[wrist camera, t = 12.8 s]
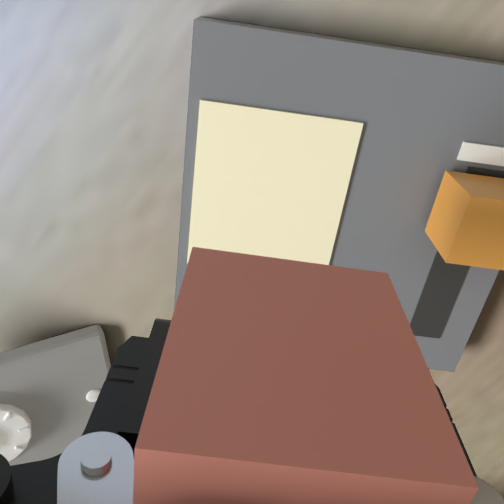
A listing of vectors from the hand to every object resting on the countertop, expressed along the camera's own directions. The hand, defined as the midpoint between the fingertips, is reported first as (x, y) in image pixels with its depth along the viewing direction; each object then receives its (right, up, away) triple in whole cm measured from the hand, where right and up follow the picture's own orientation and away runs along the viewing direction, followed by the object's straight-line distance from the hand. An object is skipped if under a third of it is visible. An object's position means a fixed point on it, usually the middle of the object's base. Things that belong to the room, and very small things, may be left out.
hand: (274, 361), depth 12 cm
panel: (+4, +5, +12) cm, 14 cm away
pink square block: (0, +1, +1) cm, 1 cm away
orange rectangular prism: (+10, +5, +9) cm, 14 cm away
